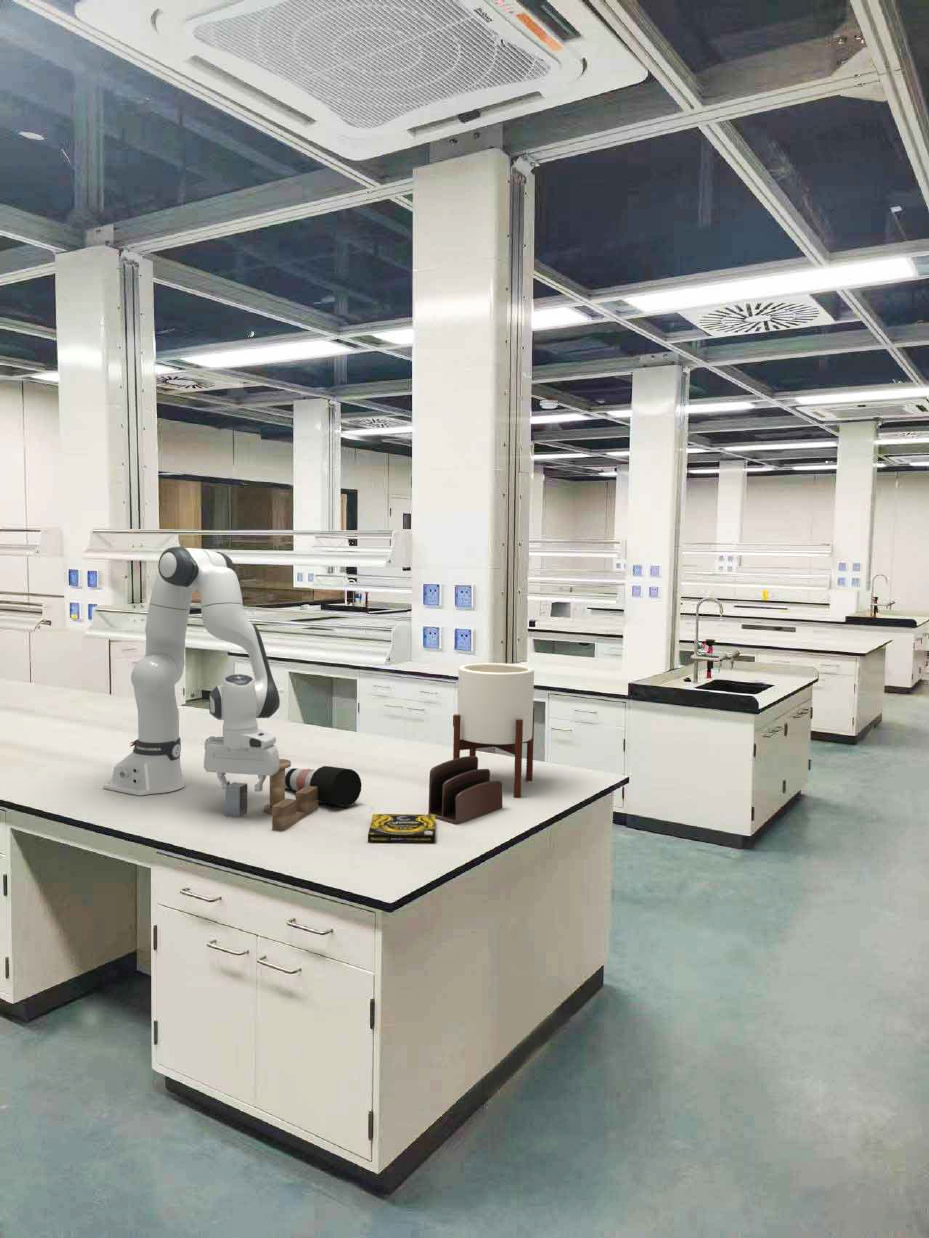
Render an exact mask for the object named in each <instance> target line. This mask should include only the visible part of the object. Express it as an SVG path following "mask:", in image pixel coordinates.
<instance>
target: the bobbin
mask: <svg viewBox="0 0 929 1238" xmlns="http://www.w3.org/2000/svg"><path fill="white" fill-rule="evenodd" d="M279 764H280V768H279V771H278V772H277V773H276V774H274V775H272V776H269V803H266V804H265V805H263V812H264V813H265V814H268V815H272V806H274V805H275V804H277V803H279V802H280V801H282V800H284V799H286V788H285V768H291V766H292V761H291V760H289V759H286V758H285V759H284V758H279Z"/></svg>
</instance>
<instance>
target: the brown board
mask: <svg viewBox="0 0 929 1238" xmlns="http://www.w3.org/2000/svg"><path fill="white" fill-rule="evenodd" d="M318 804H319V801H318V787H315V786H306V787H305V788H303V789H301V790H299V791H295V798H285V799H284V800H282V801H280V802H279V803H277V804H275V805H274V806H272V814H271V815H272V817H271V818H272V819H271V820H272V821H271V822H272V823H271V827H272V831H279V832H284V831H286V830H287V829H289V828H290V827H292V826H293V825H294V824H295V825H296V824H297V823H298V822H300V821H301V820H303V819H304V818H306V817H308V815H310V814H312V813H313V812H316V810H318V808H319V807H318Z"/></svg>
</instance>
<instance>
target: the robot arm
mask: <svg viewBox="0 0 929 1238" xmlns="http://www.w3.org/2000/svg"><path fill="white" fill-rule="evenodd" d="M157 567H158V574H157V576H156V578H155V581H154V583H153V587H152V590H151V593H150V594H151V595H150V598H149V603H148V604H149V605H148V609H147V617H146V622H145V627H144V632H145V654H144V657H143V658H141V659H140V660H138V661H137V662H136V663H135V665H134V667H133V669H132V671H131V675H130V681H131V684H132V686H133V692H134V698H135V704H136V709H137V723H138V724H137V725H138V726H137V727H138V728H137V731H138V732H137V733H138V738H137V739H136V740H134V741H132V742H129V744H130V746H129V747H133V749H132V751H131V753H130V754H128V755H126V756H125V757H124V758H123V759H121V761H119V762H118V763H116V765H115V766H114V768H113V771H112V777H111V778H112V779H110V780H108V781H106V782H105V783H104V785H103V789H105V790H110V791H114V792H118V793H125V794H129V795H130V794H131V795H134V796H146V795H154V794H164V793H170V792H171V793H172V792H175V791H178V790H180V789H183V788H184V787H185V786H186V783H185V779H184V775H183V772H182V771H183V770H182V765H181V764H182V763H181V752H182V748H181V747H182V746H181V745H182V744H181V743H182V741H181V740H182V739H181V737H180V711H179V708H178V704H177V697H176V692H175V691H176V690H175V689H176V688H175V686H176V684H177V683H179V682H180V680H181V678H182V676H183V673H184V664H185V654H186V653H185V652H186V651H185V649H186V634H187V628H188V622H189V616H190V612H191V611H190V609H191V605H192V597H193V594H194V593H195V592H196V590H197V591H198V593H199V596H200V613H201V619H202V625H203V627H204V629H205V630H206V631H207V632H208V633H209V634H210V635H211V636H213V637H215V638H216V639H218V640H221V641H223V642H224V641H225V642H227V643H230V644H234V645H237V646H238V647H241V648H242V649H244V650H245V652H246V653H247V654H248V657H249V662H250V664H251V668H252V671H253V676H254V677H252V676H249V675H247V674H238V673H237V674H231V675H228V676H225V677H224V679H223V680H222V681H223V682H222V684H221V685H220V684H219V685H217V686H215V687H214V688H213V689H212V690H211V692H209V694H208V701H209V703H208V705H209V708H208V710H209V714H210V715H211V716H212V717H214V718H215V719H217V720H218V721H223V724H222V736H209V737H207V738H206V739H205V740H204V758H203V768H204V770H205V771H206V773H216V777H217V779H218V780H219V782H220V783H221V790H226V786H227V785H229V784H231V781H229V780H227V778H226V774H233V775H234V774H238V775H253V776H257V779H258V782H257V783H255V784H253V785H254V792H263V789H264V787H263V786H264V785H263V784H264V782H265V781H266V779H267V776H269V777H270V776H272V775H274V774H276V773H277V772H278V771H279V768H280V764H279V759H280V755H279V751H278V747H277V746H276V745H275V744H276V742H277V738H276V735H274V734H271V733H269V732H266V731H264V730H261V729H260V728H259V726H258V725H259V724H258V722H257V721H258V720H257V719H269V718H271V717H272V716H273V715H274V714H275V713H276V712H277V711H278V710H279V708H280V705H281V704H280V703H281V702H280V701H281V700H280V694H279V691H278V688H277V685H276V682H275V681H274V678H273V674H272V670H271V667H270V663H269V660H268V655H267V653H266V649H265V646H264V642H263V639H262V635H261V633H260V630H259V629H258V627H257V625H256V624H254V623H252V622H250V619H248V617H247V615H246V612H245V610H244V609H245V608H244V603H243V602H244V601H243V595H242V591H241V590H242V589H241V586H240V583H239V579H238V575H237V574H236V572H235V566H234V562H233V560H232V559H231V558H230V557H229V556H228V555H227V554H225V553H222V552H219V551H213V550H210V549H206V548H200V547H199V548H198V547H196V548H194V547H183V546H172V547H168V548H166V549H165V550H164V551H163V552H162V553H161V555H160V556H159V559H158V566H157ZM254 679H255V681H254Z"/></svg>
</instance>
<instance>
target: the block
mask: <svg viewBox="0 0 929 1238" xmlns="http://www.w3.org/2000/svg"><path fill="white" fill-rule="evenodd" d="M247 814H248V783H247V782H235V781H233V782H230V784H229V785H227V786H226V789H225V817H227V818H237V819H238V818H242V817H244V816H245V815H247Z"/></svg>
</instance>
